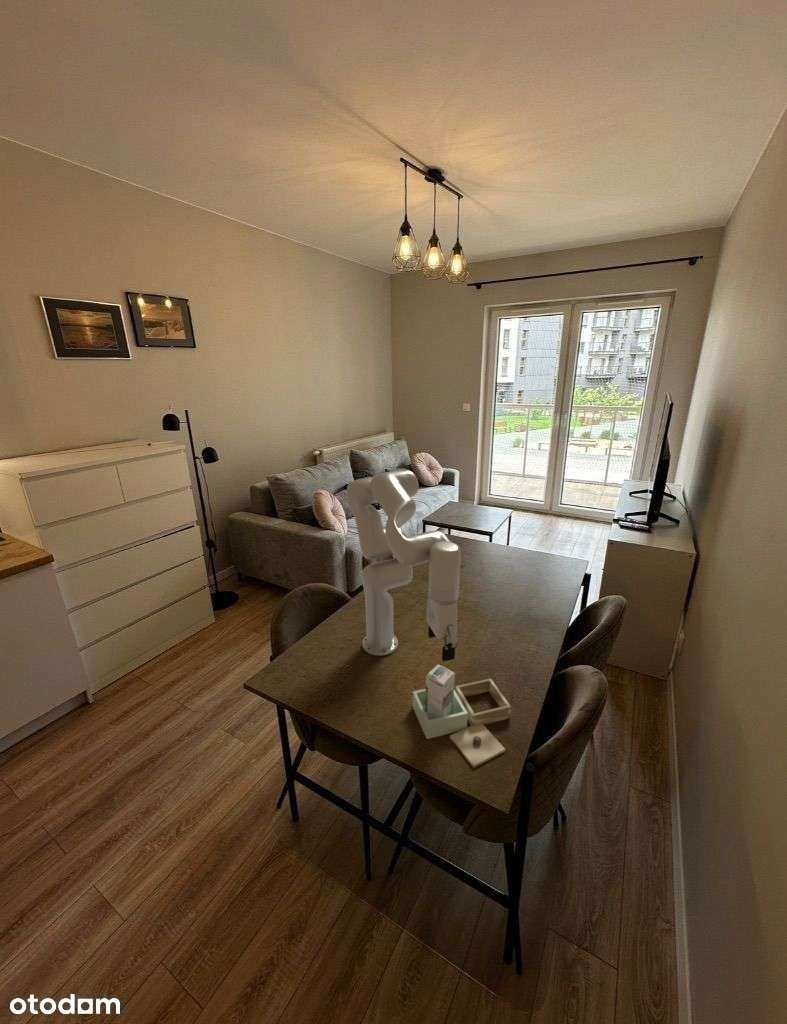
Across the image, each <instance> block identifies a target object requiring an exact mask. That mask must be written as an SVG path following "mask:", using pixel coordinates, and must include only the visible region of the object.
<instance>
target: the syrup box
mask: <svg viewBox="0 0 787 1024" xmlns="http://www.w3.org/2000/svg"><path fill="white" fill-rule="evenodd" d="M455 675H456V672H454V671H452V670H450V669H449V668H447V667H445V666H443V665H440V664H437V665H436V666H434V667H433V668H432V669H431V670H430V671H429V672H427V674H426V675H425V689H426V690H425V713H426V715H427V717H428V718H429V719H430V720H431V719H435V718H440V717H444V716H448V715H451V714H452V708H453V695H454V690H455V679H456V676H455Z"/></svg>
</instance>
